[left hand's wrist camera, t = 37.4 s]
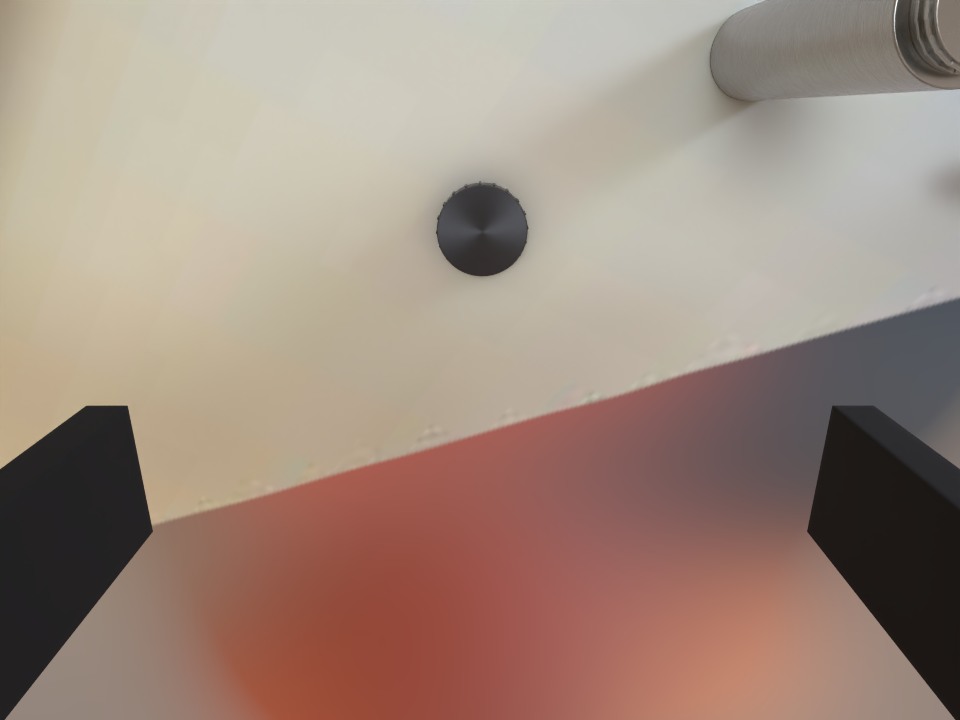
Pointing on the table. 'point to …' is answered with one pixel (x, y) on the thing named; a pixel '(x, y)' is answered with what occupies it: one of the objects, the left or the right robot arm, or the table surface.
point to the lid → (482, 229)
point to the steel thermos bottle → (838, 48)
